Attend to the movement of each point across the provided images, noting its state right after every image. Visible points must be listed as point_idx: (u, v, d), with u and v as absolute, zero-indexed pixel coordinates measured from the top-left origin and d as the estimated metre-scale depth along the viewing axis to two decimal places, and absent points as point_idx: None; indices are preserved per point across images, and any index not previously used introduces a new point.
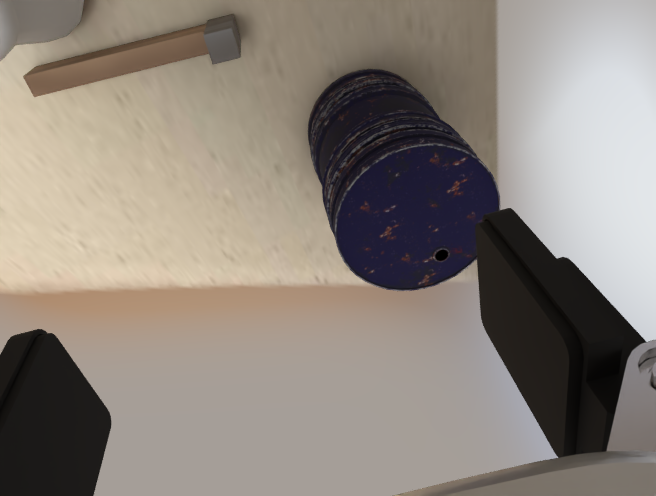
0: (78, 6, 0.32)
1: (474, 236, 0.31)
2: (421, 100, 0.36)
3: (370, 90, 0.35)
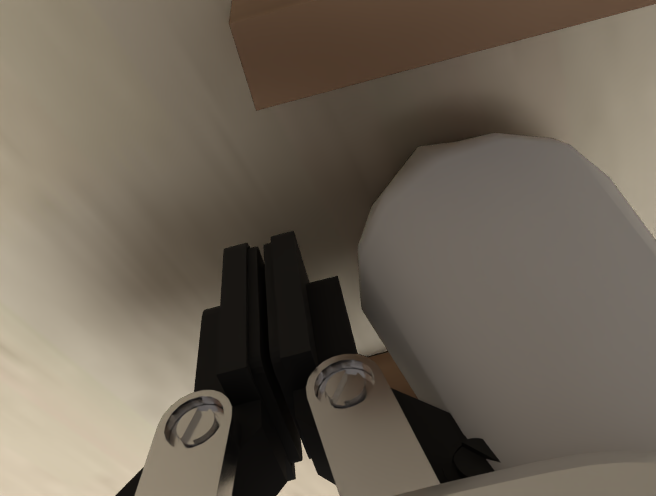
0: None
1: None
2: None
3: None
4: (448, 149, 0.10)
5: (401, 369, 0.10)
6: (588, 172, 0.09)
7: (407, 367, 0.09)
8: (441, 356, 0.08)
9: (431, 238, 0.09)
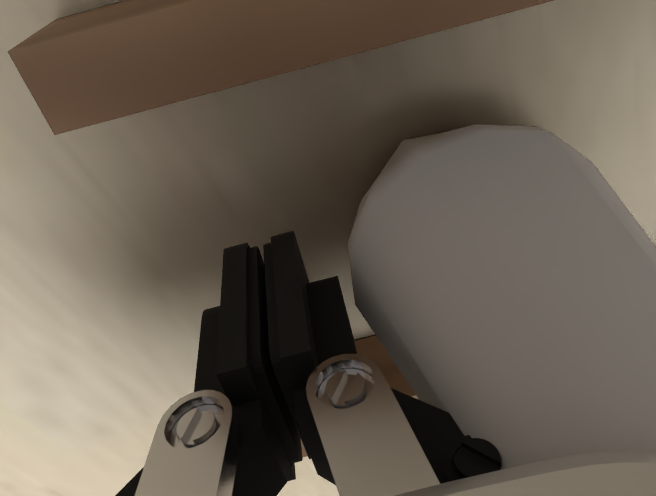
0: None
1: None
2: None
3: None
4: (431, 143, 0.10)
5: (396, 363, 0.10)
6: (569, 159, 0.09)
7: (401, 360, 0.10)
8: (433, 349, 0.08)
9: (417, 234, 0.09)
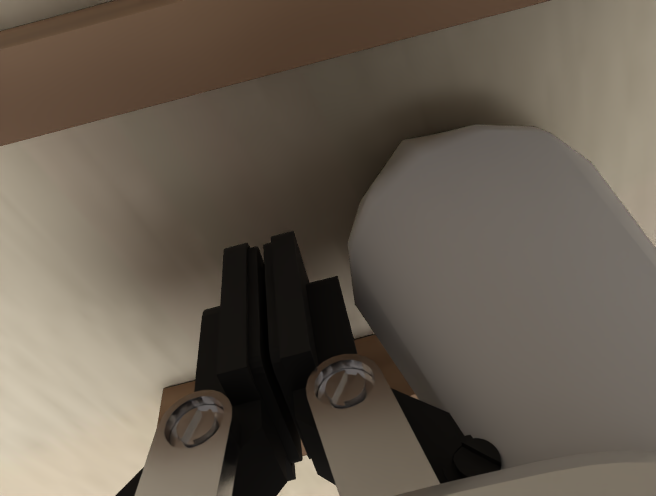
0: None
1: None
2: None
3: None
4: (431, 143, 0.10)
5: (395, 362, 0.10)
6: (568, 159, 0.09)
7: (401, 360, 0.10)
8: (432, 349, 0.08)
9: (417, 233, 0.09)
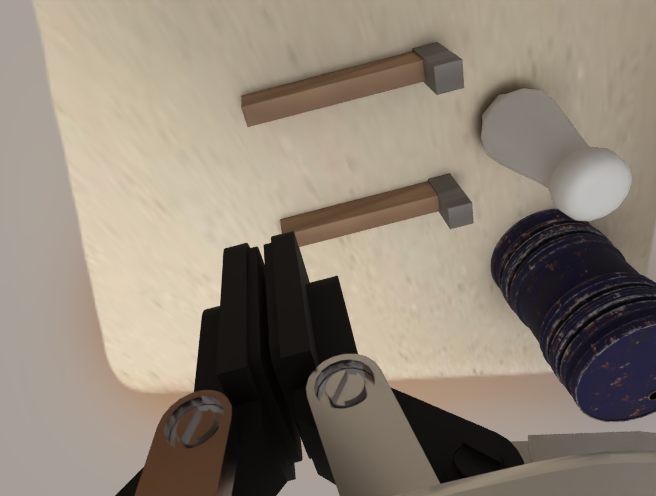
0: None
1: None
2: (613, 247, 0.42)
3: (572, 241, 0.41)
4: (511, 92, 0.37)
5: (498, 149, 0.37)
6: (548, 97, 0.36)
7: (501, 146, 0.36)
8: (512, 136, 0.35)
9: (508, 112, 0.36)
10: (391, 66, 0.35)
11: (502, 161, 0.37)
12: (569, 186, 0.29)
